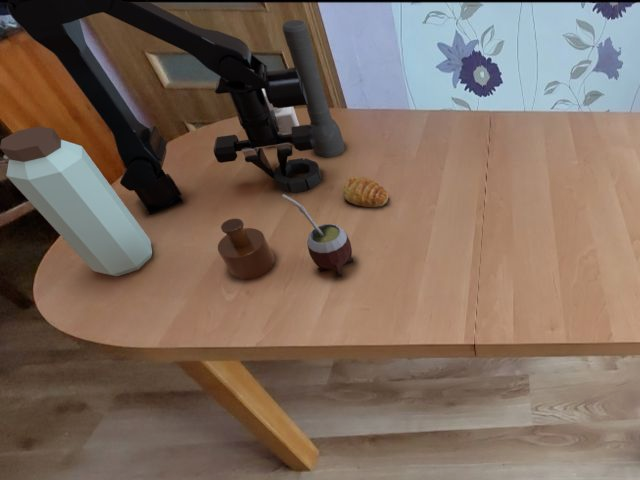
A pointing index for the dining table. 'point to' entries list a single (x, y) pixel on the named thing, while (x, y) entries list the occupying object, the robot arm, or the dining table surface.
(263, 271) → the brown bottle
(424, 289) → the dining table surface
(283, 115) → the container
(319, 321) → the dining table surface
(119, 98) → the robot arm
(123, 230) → the water bottle
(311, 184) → the black octagonal ring
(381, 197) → the pastry
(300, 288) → the dining table surface
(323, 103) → the flashlight
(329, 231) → the mate gourd
